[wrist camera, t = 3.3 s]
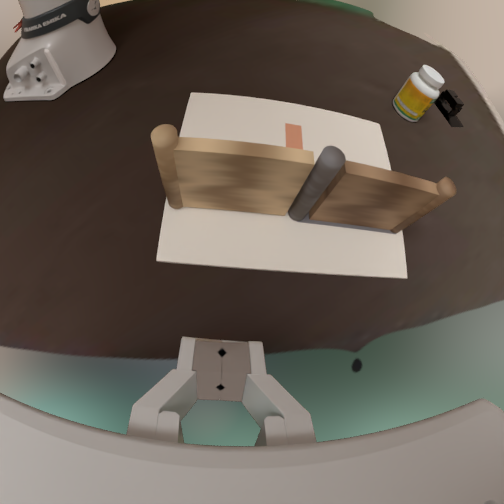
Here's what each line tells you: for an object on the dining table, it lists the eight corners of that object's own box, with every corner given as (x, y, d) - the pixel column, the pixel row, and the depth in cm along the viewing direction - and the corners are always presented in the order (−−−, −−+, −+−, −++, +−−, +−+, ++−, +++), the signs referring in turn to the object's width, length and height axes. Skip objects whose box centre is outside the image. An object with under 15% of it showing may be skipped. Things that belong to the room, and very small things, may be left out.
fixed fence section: (287, 220, 28) (323, 163, 18) (287, 203, 28) (321, 143, 19) (400, 234, 30) (458, 196, 20) (398, 219, 30) (453, 179, 21)
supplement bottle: (394, 95, 39) (420, 57, 29) (419, 112, 38) (447, 77, 29) (389, 109, 37) (418, 68, 28) (416, 128, 37) (448, 91, 28)
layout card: (157, 261, 25) (156, 260, 25) (191, 94, 32) (190, 92, 32) (405, 278, 28) (407, 278, 28) (378, 125, 35) (379, 123, 35)
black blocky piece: (468, 134, 41) (480, 122, 37) (451, 134, 39) (465, 121, 35) (435, 89, 44) (445, 76, 39) (416, 86, 42) (426, 71, 38)
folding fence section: (166, 208, 26) (148, 143, 17) (169, 191, 27) (154, 124, 17) (284, 218, 28) (319, 160, 18) (284, 202, 28) (317, 140, 19)
